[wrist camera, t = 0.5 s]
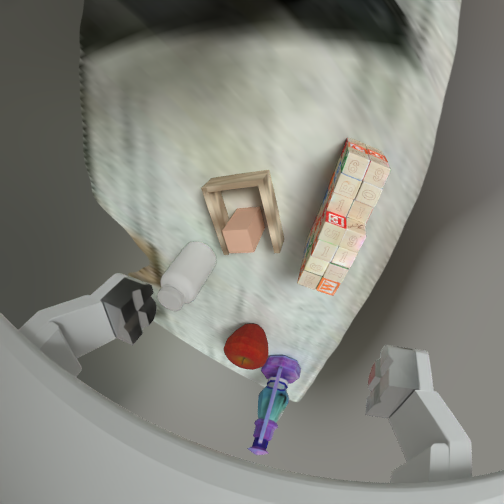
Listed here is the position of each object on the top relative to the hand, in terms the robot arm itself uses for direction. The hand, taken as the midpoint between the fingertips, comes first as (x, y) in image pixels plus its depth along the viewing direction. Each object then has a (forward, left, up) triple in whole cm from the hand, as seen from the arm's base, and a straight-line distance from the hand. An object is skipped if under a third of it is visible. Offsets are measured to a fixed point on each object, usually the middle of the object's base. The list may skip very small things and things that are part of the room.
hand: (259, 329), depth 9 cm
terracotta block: (+16, -16, -39) cm, 45 cm away
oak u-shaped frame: (+14, -16, -39) cm, 44 cm away
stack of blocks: (+14, +1, -39) cm, 42 cm away
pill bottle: (+24, -30, -39) cm, 55 cm away
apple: (+48, -23, -39) cm, 66 cm away
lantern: (+65, -18, -39) cm, 78 cm away
